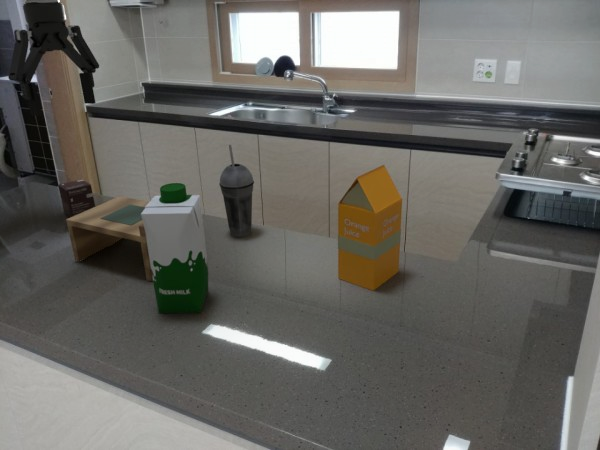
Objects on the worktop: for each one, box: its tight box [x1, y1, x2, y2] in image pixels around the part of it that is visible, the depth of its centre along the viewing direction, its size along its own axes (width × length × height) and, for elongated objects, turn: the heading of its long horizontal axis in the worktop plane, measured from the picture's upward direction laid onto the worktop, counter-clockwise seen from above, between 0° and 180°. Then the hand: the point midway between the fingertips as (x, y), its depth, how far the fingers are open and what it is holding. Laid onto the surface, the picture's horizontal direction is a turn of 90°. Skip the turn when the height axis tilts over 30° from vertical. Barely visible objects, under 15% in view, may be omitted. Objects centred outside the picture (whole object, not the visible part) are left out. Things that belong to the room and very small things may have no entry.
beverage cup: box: [218, 144, 255, 238], centre depth 113 cm, size 7×7×20 cm
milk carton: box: [141, 182, 209, 314], centre depth 88 cm, size 9×9×20 cm
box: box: [58, 179, 96, 218], centre depth 130 cm, size 6×6×7 cm
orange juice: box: [337, 164, 403, 292], centre depth 94 cm, size 8×9×20 cm
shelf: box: [65, 195, 153, 282], centre depth 106 cm, size 20×14×11 cm
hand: (64, 109), depth 115 cm, fingers open, 13 cm apart
